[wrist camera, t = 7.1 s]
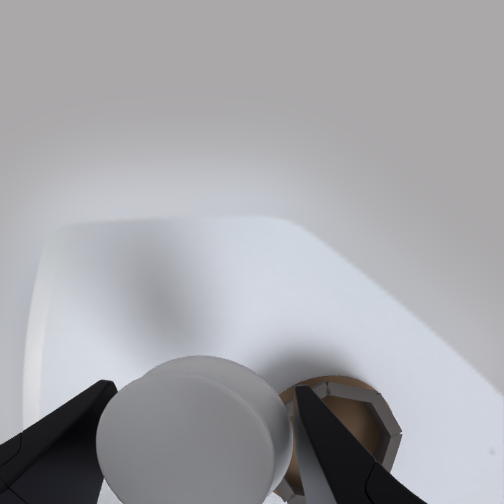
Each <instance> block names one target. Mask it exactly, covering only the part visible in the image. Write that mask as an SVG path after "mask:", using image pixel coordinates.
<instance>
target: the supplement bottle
mask: <svg viewBox="0 0 504 504" xmlns="http://www.w3.org/2000/svg"><path fill="white" fill-rule="evenodd" d="M96 450H97V457H98V461H99V465H100V468H101V471H102V474H103V476H104V478H105V480H106V482H107V483H108V485H109V487H110V488H111V490H112V491H113V493H114V494H115V495H116V496H117V498H118V499H119V500H120V501H121V502H122V503H123V504H262V503H263V501H264V500H265V498H266V497H267V496H268V495H270V494H271V493H272V492H273V490H274V489H275V488H276V487H277V486H278V485H279V483H280V482H281V480H282V479H283V477H284V475H285V473H286V471H287V469H288V467H289V464H290V461H291V457H292V451H293V431H292V425H291V421H290V418H289V415H288V413H287V410H286V408H285V406H284V404H283V402H282V400H281V399H280V397H279V396H278V394H277V393H276V392H275V390H274V389H273V388H272V387H271V386H270V385H269V384H268V383H267V382H266V381H265V380H264V379H263V378H262V377H260V376H259V375H258V374H256V373H255V372H253V371H252V370H250V369H248V368H247V367H245V366H243V365H240V364H238V363H236V362H233V361H230V360H227V359H223V358H218V357H213V356H189V357H183V358H178V359H174V360H171V361H168V362H165V363H163V364H161V365H159V366H157V367H155V368H153V369H152V370H150V371H149V372H148V373H146V374H145V375H144V376H142V377H141V378H139V379H137V380H135V381H133V382H131V383H129V384H128V385H126V386H125V387H124V388H122V389H121V390H120V391H119V392H118V393H117V394H116V395H115V396H114V397H113V398H112V399H111V400H110V401H109V403H108V404H107V406H106V408H105V409H104V411H103V413H102V415H101V418H100V421H99V424H98V428H97V435H96Z"/></svg>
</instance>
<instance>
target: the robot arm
mask: <svg viewBox="0 0 504 504" xmlns="http://www.w3.org/2000/svg"><path fill="white" fill-rule="evenodd" d="M117 393H118V391H117V388H116V386H115V384H114V382H113V381H109V380H100V381H98V382H96V383H95V384H93V385H92V386H90V387H89V388H88V389H86V390H85V391H83V392H82V393H80V394H79V395H77V396H76V397H74V398H73V399H71V400H70V401H68V402H67V403H65V404H64V405H62V406H61V407H59V408H58V409H56V410H55V411H53V412H51V413H50V414H48V415H47V416H45V417H44V418H42V419H41V420H39V421H38V422H36V423H35V424H33V425H32V426H30V427H29V428H27V429H25V430H24V431H23V432H22V433H19V434H18V435H16V436H14V437H13V438H11V439H10V440H8V441H6V442H5V443H3V444H1V445H0V504H97V501H98V497H99V493H100V490H101V486H102V483H103V479H104V476H103V474H102V471H101V468H100V465H99V461H98V457H97V450H96V435H97V428H98V424H99V421H100V418H101V415H102V413H103V411H104V409H105V408H106V406H107V404H108V403H109V401H110V400H111V399H112V398H113V397H114V396H115V395H116V394H117ZM293 420H294V433H295V447H296V456H297V461H298V466H299V471H300V475H301V480H302V484H303V489H304V493H305V498H306V502H307V504H427V503H426V502H424V501H423V500H422V499H420V498H419V497H418V496H416V495H415V494H414V493H412V492H411V491H410V490H408V489H407V488H406V487H405V486H403V485H402V484H401V483H400V482H399V481H397V480H396V479H395V478H394V477H393V476H392V475H391V474H390V473H389V472H388V471H387V470H386V469H385V468H384V467H383V466H382V465H381V464H380V463H379V462H378V461H376V459H375V458H374V457H373V455H372V454H371V453H370V452H369V451H368V450H367V449H366V448H365V447H364V446H363V445H362V444H361V443H360V442H359V440H358V439H357V438H356V437H355V436H354V435H353V434H352V433H351V432H350V431H349V430H348V428H347V427H346V426H345V425H344V424H343V423H342V422H341V421H340V420H339V419H338V417H337V416H336V415H335V414H334V413H333V412H332V411H331V410H330V408H329V407H328V406H327V405H326V404H325V403H324V402H323V401H322V399H321V398H320V397H319V396H318V395H317V394H316V393H315V391H314V390H313V389H312V388H311V387H310V386H309V385H296V386H294V389H293Z"/></svg>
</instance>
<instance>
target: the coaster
mask: <svg viewBox="0 0 504 504" xmlns="http://www.w3.org/2000/svg"><path fill="white" fill-rule="evenodd" d="M296 385H309V386H310V387H311V388H312V389H313V390H314V391H315V393H316V394H317V395H318V396H319V397H320V398H321V399H322V401H323V402H324V403H325V404H326V405H327V406H328V407H329V408H330V410H331V411H332V412H333V413H334V414H335V415H336V416H337V417H338V419H339V420H340V421H341V422H342V423H343V424H344V425H345V426H346V427H347V428H348V430H349V431H350V432H351V433H352V434H353V435H354V436H355V437H356V438H357V439H358V440H359V442H360V443H361V444H362V445H363V446H364V447H365V448H366V449H367V450H368V451H369V452H370V453H371V454H372V455H373V457H374V458H375V459H376V461H378V462H379V463H380V464H381V465H382V466H383V467H384V468H385V469H386V470H387V471H388V472H389V473H390V471H391V469H392V466H393V463H394V460H395V457H396V454H397V451H398V448H399V444H400V441H401V438H402V434H399V433H401V432H402V430H401V428H400V426H399V425H398V423H397V421H396V419H395V418H394V416H393V414H392V411H391V409H390V407H389V405H388V404H387V402H386V401H385V399H384V398H383V397H382V395H381V393H378V392H377V391H376V390H375V389H373V388H372V387H371V386H369V385H367V384H366V383H364V382H361V381H359V380H357V379H353V378H349V377H343V376H323V377H317V378H312V379H309V380H306V381H303V382H300V383H298V384H296ZM296 385H294V386H296ZM294 386H292V387H291V388H289V389H287V390H286V391H284V392H283V393H282V394H281V395H279V397H280V399H281V400H282V402H283V404H284V406H285V408H286V410H287V413H288V415H289V418H290V421H291V425H292V431H293V451H292V457H291V461H290V464H289V467H288V469H287V471H286V473H285V475H284V477H283V479H282V480H281V482H280V483H279V485H278V486H277V487H276V488H275V489H274V490H273V492H274V493H276V494H277V495H278V496H280V497H281V498H282V499H283V501H284V502H286V501H287V504H307V502H306V498H305V493H304V489H303V484H302V480H301V475H300V471H299V466H298V461H297V456H296V447H295V433H294V420H293V389H294Z"/></svg>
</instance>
